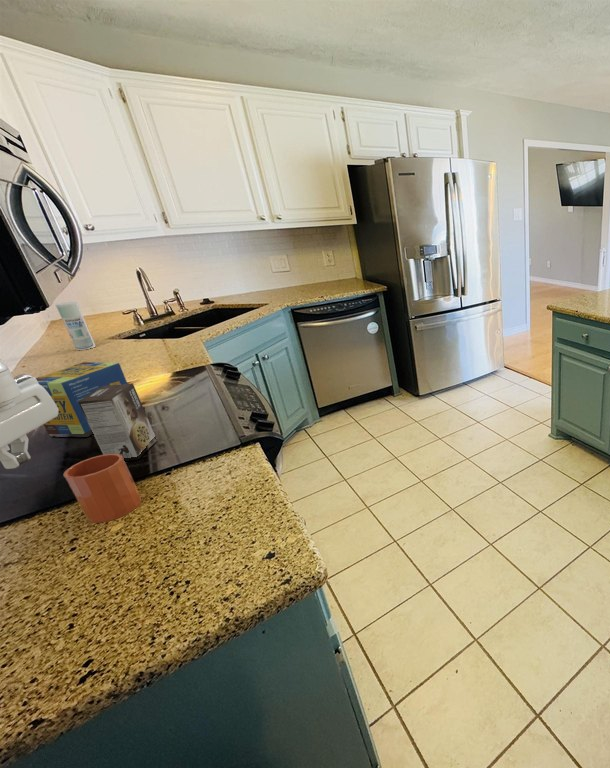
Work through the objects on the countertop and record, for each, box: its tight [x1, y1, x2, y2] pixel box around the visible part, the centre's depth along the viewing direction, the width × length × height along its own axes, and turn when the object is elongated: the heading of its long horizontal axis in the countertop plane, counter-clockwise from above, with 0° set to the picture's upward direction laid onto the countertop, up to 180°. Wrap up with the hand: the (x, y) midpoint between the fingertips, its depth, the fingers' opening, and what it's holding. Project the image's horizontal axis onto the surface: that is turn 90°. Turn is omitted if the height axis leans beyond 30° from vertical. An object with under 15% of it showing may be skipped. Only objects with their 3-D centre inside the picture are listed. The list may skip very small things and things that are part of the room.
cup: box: [63, 454, 142, 524], centre depth 76 cm, size 8×8×10 cm
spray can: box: [55, 301, 96, 351], centre depth 174 cm, size 6×6×20 cm
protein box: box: [35, 361, 128, 435], centre depth 108 cm, size 10×15×16 cm
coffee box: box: [78, 382, 156, 459], centre depth 94 cm, size 9×6×16 cm
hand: (18, 464), depth 72 cm, fingers closed
